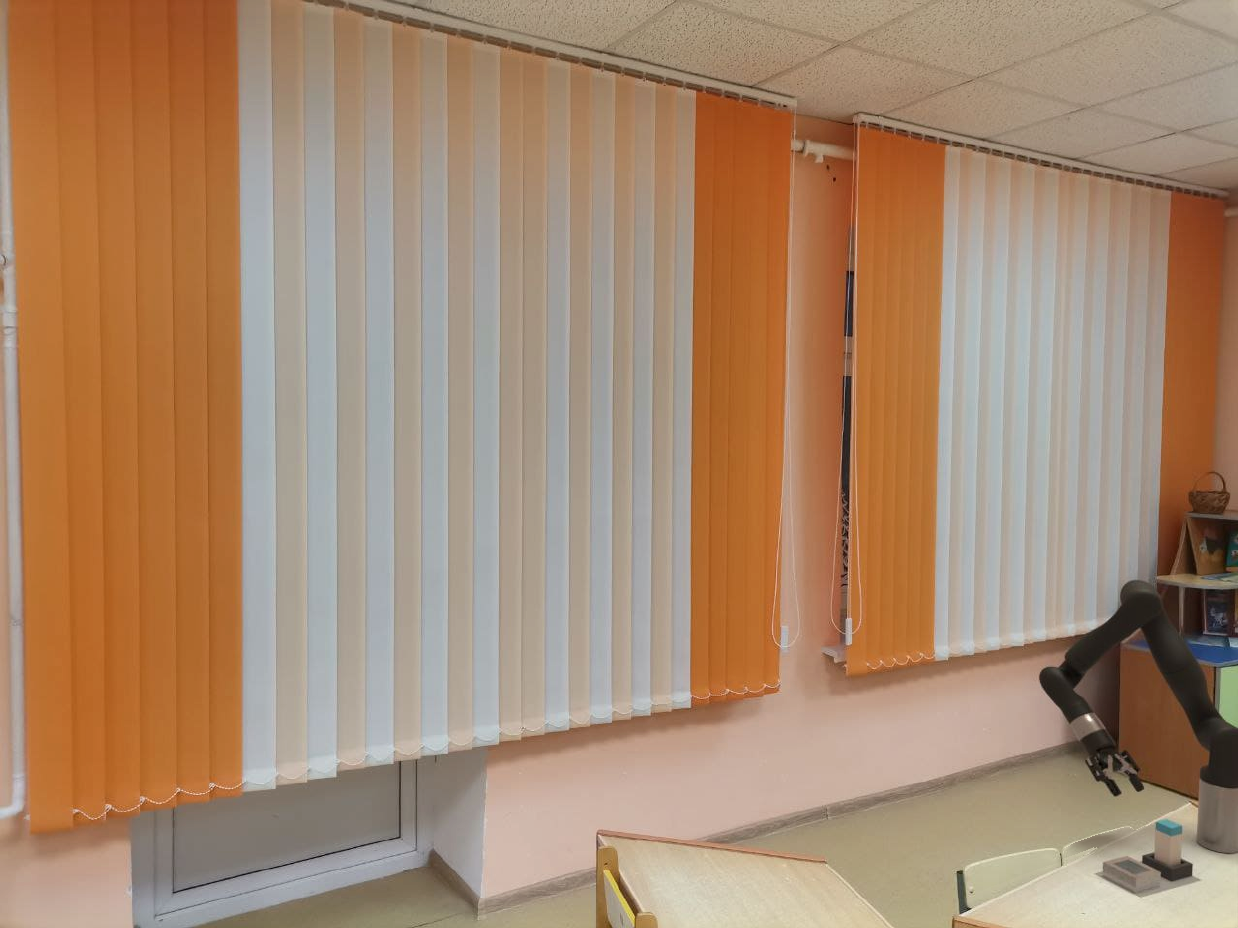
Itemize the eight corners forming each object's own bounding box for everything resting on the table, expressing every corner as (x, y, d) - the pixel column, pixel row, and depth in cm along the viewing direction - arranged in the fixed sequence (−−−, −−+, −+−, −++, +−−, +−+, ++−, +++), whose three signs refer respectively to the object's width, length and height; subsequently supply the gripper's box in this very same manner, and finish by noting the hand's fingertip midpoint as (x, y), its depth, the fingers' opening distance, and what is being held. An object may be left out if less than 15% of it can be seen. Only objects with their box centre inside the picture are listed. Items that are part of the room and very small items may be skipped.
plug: (1164, 866, 221) (1166, 818, 220) (1180, 873, 217) (1182, 825, 217) (1153, 868, 219) (1155, 821, 219) (1169, 876, 216) (1171, 828, 215)
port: (1126, 869, 219) (1127, 855, 218) (1160, 886, 211) (1160, 871, 211) (1102, 875, 215) (1103, 861, 215) (1135, 893, 207) (1136, 878, 207)
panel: (1154, 861, 225) (1154, 857, 225) (1201, 883, 214) (1201, 879, 214) (1094, 877, 216) (1094, 873, 216) (1140, 901, 205) (1140, 897, 205)
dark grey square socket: (1162, 861, 223) (1162, 849, 223) (1192, 875, 216) (1192, 863, 216) (1141, 866, 220) (1142, 855, 220) (1171, 881, 213) (1172, 869, 213)
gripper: (1082, 730, 232) (1120, 790, 222) (1119, 724, 238) (1158, 782, 227) (1064, 744, 237) (1101, 803, 227) (1101, 737, 243) (1138, 794, 233)
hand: (1129, 792), depth 227 cm, fingers open, 8 cm apart
